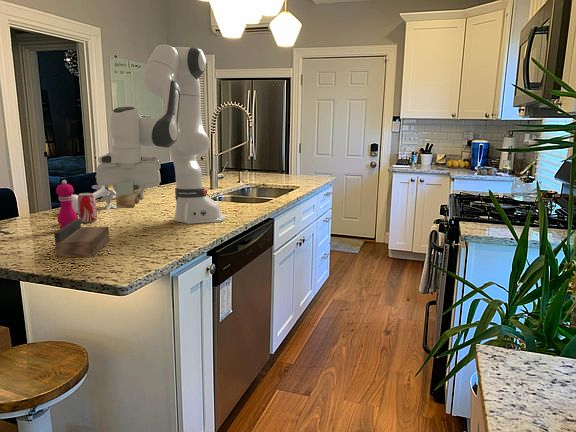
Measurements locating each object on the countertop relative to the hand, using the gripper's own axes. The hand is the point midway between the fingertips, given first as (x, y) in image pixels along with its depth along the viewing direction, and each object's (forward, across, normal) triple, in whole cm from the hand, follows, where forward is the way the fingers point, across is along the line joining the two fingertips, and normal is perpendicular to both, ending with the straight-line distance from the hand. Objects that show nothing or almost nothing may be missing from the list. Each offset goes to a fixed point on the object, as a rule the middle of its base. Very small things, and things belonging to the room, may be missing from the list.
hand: (130, 198), depth 147 cm
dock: (+17, +16, 0) cm, 23 cm away
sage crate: (-2, 0, +6) cm, 7 cm away
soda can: (+17, +27, -42) cm, 53 cm away
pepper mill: (+17, +30, -27) cm, 44 cm away
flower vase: (+17, +31, -66) cm, 75 cm away
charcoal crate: (-2, 0, -6) cm, 7 cm away
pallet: (+2, 0, 0) cm, 2 cm away
